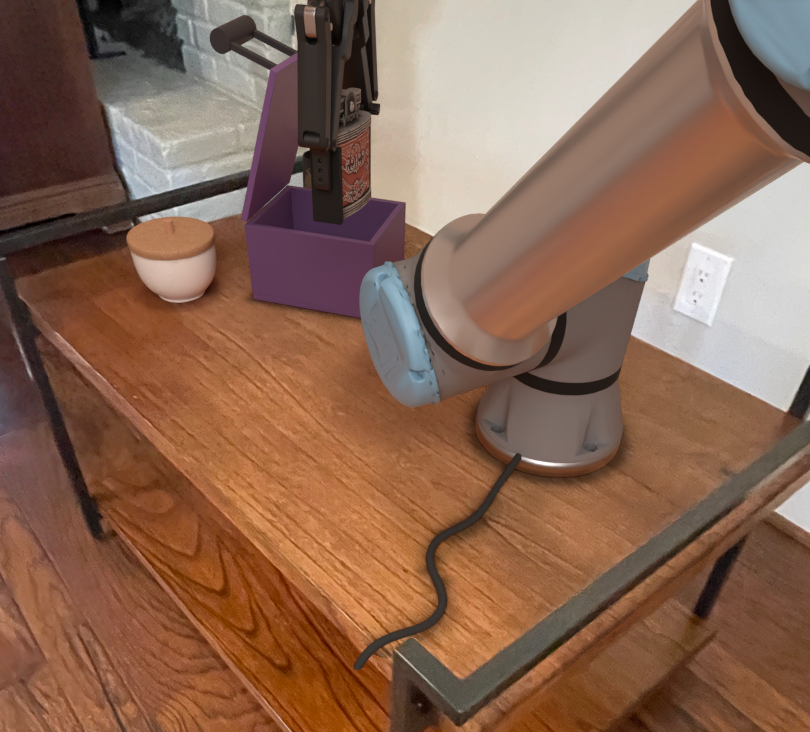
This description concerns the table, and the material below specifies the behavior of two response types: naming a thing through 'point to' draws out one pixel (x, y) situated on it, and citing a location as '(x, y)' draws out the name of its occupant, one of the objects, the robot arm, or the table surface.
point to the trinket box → (174, 256)
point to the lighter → (354, 151)
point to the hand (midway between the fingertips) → (343, 203)
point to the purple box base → (320, 251)
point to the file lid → (267, 113)
